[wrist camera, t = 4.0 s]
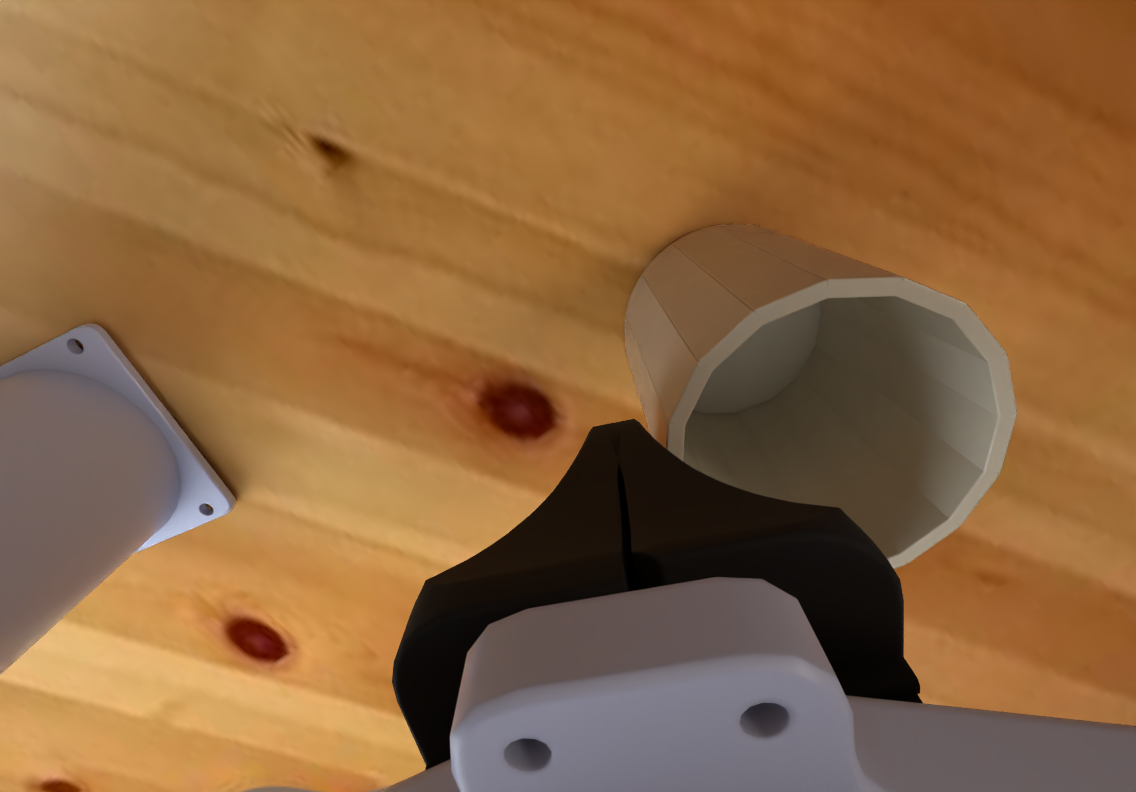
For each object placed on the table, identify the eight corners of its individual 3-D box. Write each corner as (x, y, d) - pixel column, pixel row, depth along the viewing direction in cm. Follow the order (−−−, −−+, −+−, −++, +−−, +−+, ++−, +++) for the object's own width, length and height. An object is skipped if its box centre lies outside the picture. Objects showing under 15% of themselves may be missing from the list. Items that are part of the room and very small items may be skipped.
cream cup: (665, 443, 21) (728, 625, 13) (592, 276, 19) (614, 368, 11) (844, 372, 20) (1037, 521, 12) (791, 186, 18) (984, 212, 10)
